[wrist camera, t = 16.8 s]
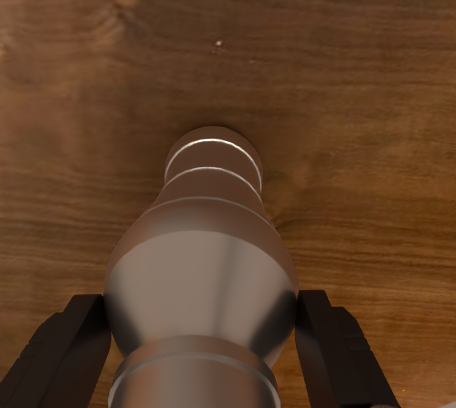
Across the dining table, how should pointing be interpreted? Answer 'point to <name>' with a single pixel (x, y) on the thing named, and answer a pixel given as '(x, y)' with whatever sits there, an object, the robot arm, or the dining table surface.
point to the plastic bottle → (201, 285)
